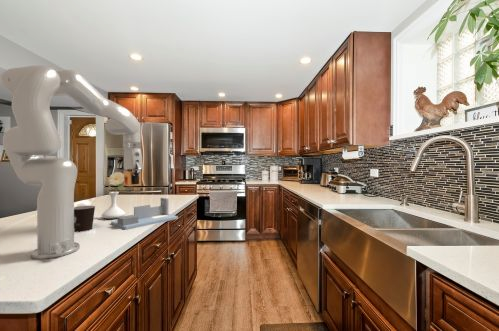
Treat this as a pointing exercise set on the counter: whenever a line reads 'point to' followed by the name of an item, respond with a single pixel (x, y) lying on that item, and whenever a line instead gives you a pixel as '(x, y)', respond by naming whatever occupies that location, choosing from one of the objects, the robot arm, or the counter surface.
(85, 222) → the coffee mug
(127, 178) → the clip
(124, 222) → the rail
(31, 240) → the counter surface
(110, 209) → the flower in vase
